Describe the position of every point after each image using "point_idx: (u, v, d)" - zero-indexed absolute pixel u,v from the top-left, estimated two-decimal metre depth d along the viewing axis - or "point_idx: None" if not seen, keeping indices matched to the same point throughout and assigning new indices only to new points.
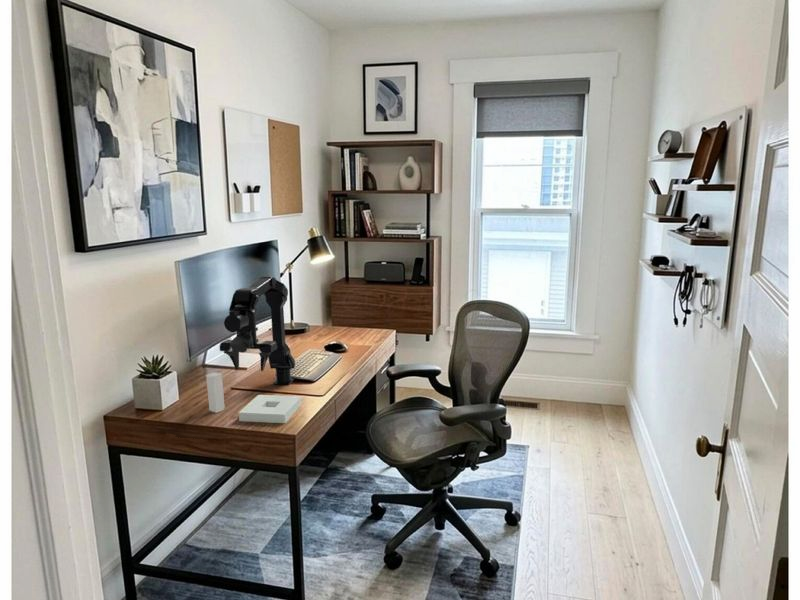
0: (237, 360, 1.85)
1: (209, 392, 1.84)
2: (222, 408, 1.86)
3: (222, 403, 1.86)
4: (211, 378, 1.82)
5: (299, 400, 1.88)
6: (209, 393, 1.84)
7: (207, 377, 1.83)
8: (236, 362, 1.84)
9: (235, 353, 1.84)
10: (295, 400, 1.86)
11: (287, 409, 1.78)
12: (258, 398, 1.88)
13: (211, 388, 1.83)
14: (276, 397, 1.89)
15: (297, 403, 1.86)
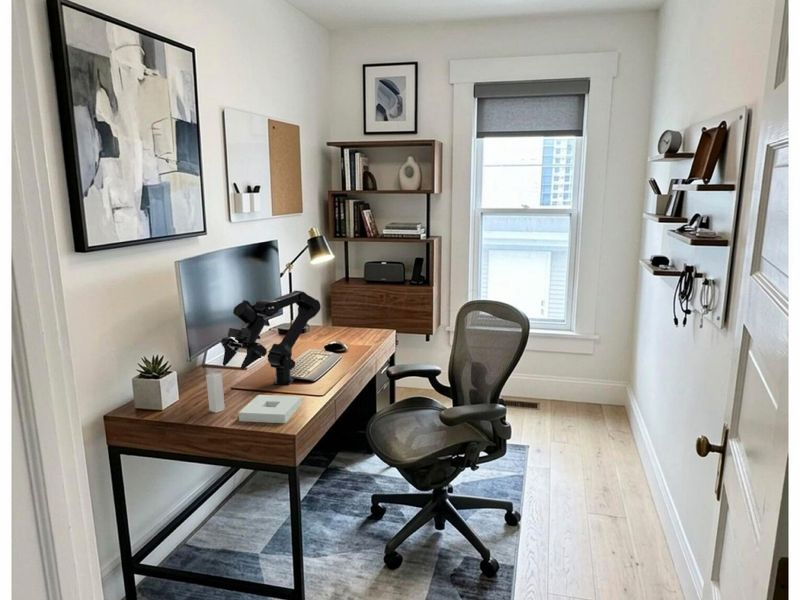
0: (228, 358, 1.94)
1: (209, 392, 1.84)
2: (222, 408, 1.86)
3: (222, 403, 1.86)
4: (211, 378, 1.82)
5: (299, 400, 1.88)
6: (209, 393, 1.84)
7: (207, 377, 1.83)
8: (226, 358, 1.94)
9: (230, 351, 1.95)
10: (295, 400, 1.86)
11: (287, 409, 1.78)
12: (258, 398, 1.88)
13: (211, 388, 1.83)
14: (276, 397, 1.89)
15: (297, 403, 1.86)
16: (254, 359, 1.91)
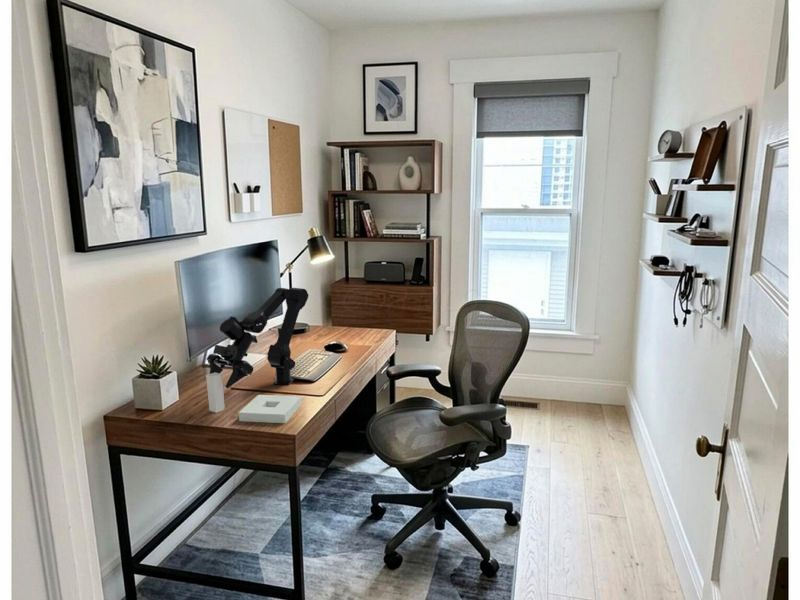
0: None
1: (209, 392, 1.84)
2: (222, 408, 1.86)
3: (222, 403, 1.86)
4: (211, 378, 1.82)
5: (299, 400, 1.88)
6: (209, 393, 1.84)
7: (207, 377, 1.83)
8: None
9: (216, 368, 1.91)
10: (295, 400, 1.86)
11: (287, 409, 1.78)
12: (258, 398, 1.88)
13: (211, 388, 1.83)
14: (276, 397, 1.89)
15: (297, 403, 1.86)
16: (240, 377, 1.86)
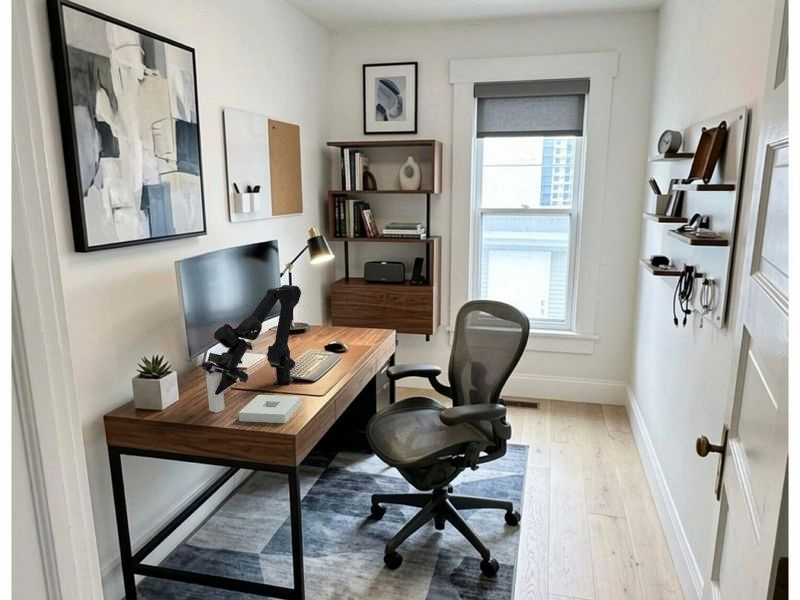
0: None
1: (209, 392, 1.84)
2: (222, 408, 1.86)
3: (222, 403, 1.86)
4: (211, 378, 1.82)
5: (299, 400, 1.88)
6: (209, 393, 1.84)
7: (207, 377, 1.83)
8: None
9: None
10: (295, 400, 1.86)
11: (287, 409, 1.78)
12: (258, 398, 1.88)
13: (211, 388, 1.83)
14: (276, 397, 1.89)
15: (297, 403, 1.86)
16: (230, 384, 1.85)
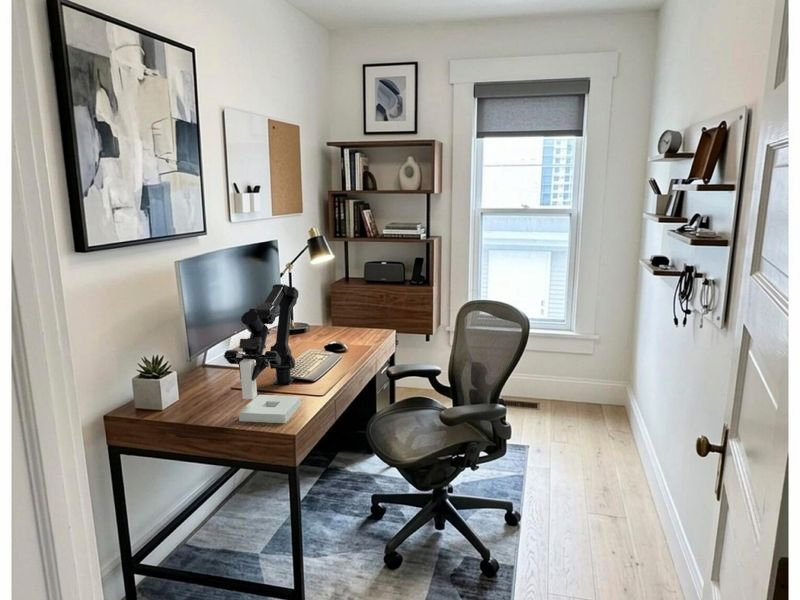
0: None
1: (243, 379, 1.79)
2: (255, 394, 1.82)
3: (255, 389, 1.82)
4: (247, 364, 1.77)
5: (299, 400, 1.88)
6: (244, 380, 1.79)
7: (241, 364, 1.78)
8: None
9: None
10: (295, 400, 1.86)
11: (287, 409, 1.78)
12: (258, 398, 1.88)
13: (246, 374, 1.78)
14: (276, 397, 1.89)
15: (297, 403, 1.86)
16: (262, 368, 1.83)
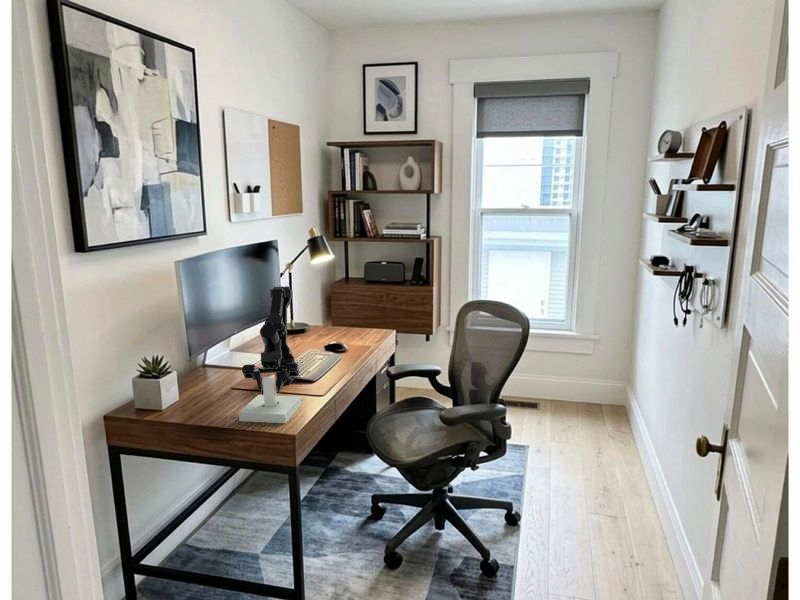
0: (261, 385, 1.82)
1: (266, 395, 1.80)
2: None
3: (276, 404, 1.84)
4: (270, 379, 1.79)
5: (299, 400, 1.88)
6: (267, 396, 1.80)
7: (264, 380, 1.79)
8: (261, 385, 1.81)
9: (260, 378, 1.83)
10: (295, 400, 1.86)
11: (287, 409, 1.78)
12: (258, 398, 1.88)
13: (269, 390, 1.80)
14: None
15: (297, 403, 1.86)
16: (284, 380, 1.85)
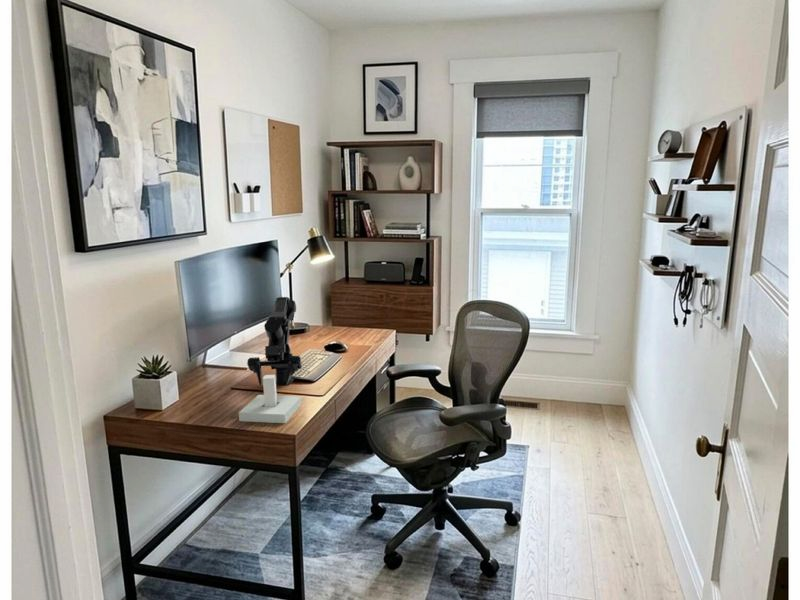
0: (261, 377, 1.91)
1: (266, 395, 1.80)
2: None
3: (276, 404, 1.84)
4: (271, 379, 1.79)
5: (299, 400, 1.88)
6: (267, 396, 1.80)
7: (264, 380, 1.79)
8: (260, 377, 1.90)
9: (260, 370, 1.92)
10: (295, 400, 1.86)
11: (287, 409, 1.78)
12: (258, 398, 1.88)
13: (270, 390, 1.80)
14: None
15: (297, 403, 1.86)
16: (292, 373, 1.93)
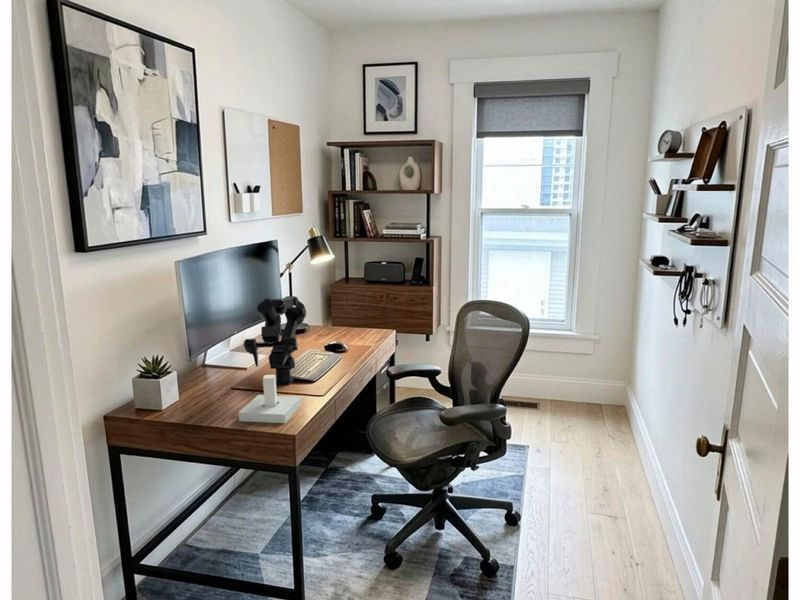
0: (257, 358, 1.92)
1: (266, 395, 1.80)
2: None
3: (276, 404, 1.84)
4: (271, 379, 1.79)
5: (299, 400, 1.88)
6: (267, 396, 1.80)
7: (264, 380, 1.79)
8: (257, 358, 1.91)
9: (256, 351, 1.93)
10: (295, 400, 1.86)
11: (287, 409, 1.78)
12: (258, 398, 1.88)
13: (270, 390, 1.80)
14: None
15: (297, 403, 1.86)
16: (288, 354, 1.95)
